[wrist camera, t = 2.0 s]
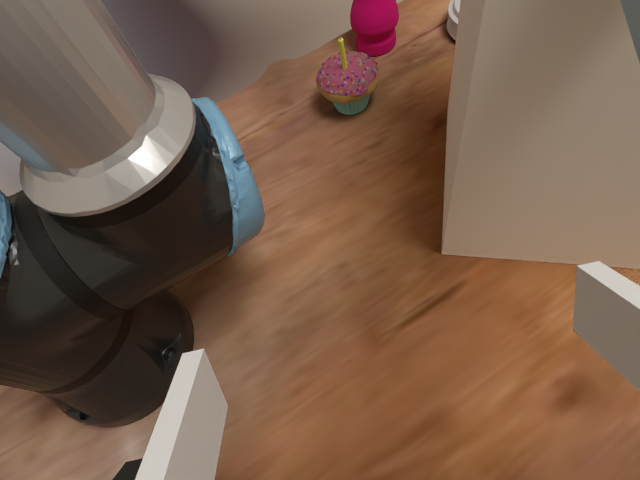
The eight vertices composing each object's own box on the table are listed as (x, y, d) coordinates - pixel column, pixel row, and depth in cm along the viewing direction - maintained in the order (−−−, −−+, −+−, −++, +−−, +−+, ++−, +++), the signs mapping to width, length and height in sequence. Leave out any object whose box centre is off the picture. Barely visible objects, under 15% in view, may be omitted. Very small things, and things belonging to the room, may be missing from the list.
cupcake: (382, 120, 55) (377, 39, 45) (321, 128, 56) (303, 51, 46) (378, 79, 59) (372, -3, 49) (322, 88, 60) (305, 9, 50)
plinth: (708, 274, 37) (1454, -217, 11) (441, 254, 43) (501, -96, 17) (656, 108, 48) (972, -349, 21) (447, 110, 53) (490, -245, 27)
